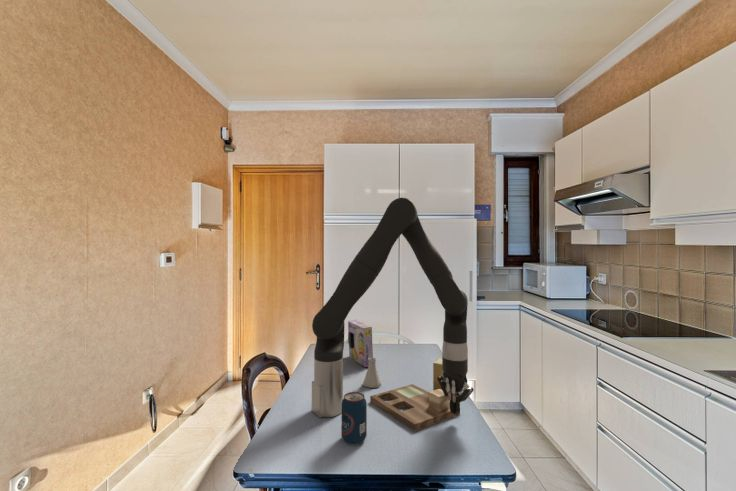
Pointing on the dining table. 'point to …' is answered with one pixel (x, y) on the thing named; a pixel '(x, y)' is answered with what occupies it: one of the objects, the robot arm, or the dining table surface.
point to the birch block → (438, 400)
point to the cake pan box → (360, 342)
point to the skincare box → (437, 373)
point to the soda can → (354, 418)
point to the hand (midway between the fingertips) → (454, 412)
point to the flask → (372, 375)
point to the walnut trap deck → (411, 407)
